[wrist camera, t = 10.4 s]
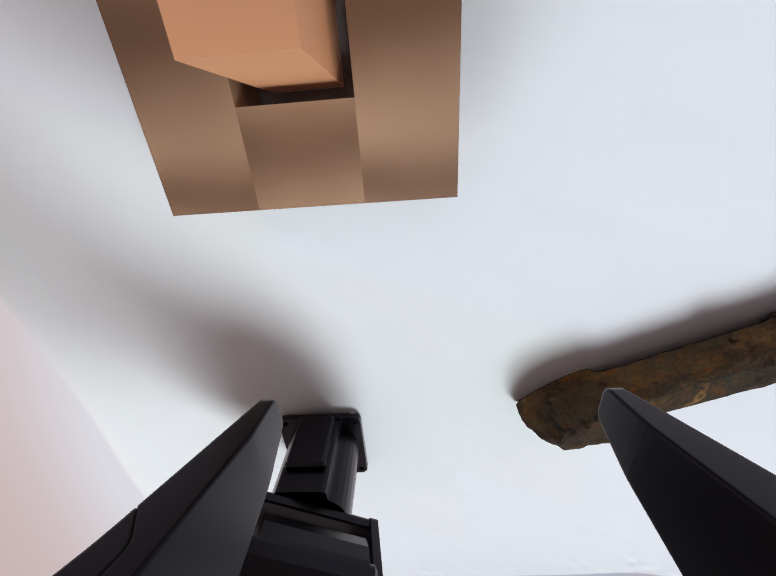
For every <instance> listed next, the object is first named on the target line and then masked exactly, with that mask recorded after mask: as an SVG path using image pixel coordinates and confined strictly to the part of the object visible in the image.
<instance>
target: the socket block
mask: <svg viewBox="0 0 776 576" xmlns="http://www.w3.org/2000/svg"><path fill="white" fill-rule="evenodd" d="M96 2H97V4H98V7H99V10H100V13H101V15H102V18H103V21H104V24H105V27H106V29H107V32H108V35H109V38H110V41H111V43H112V46H113V49H114V52H115V54H116V57H117V60H118V63H119V66H120V68H121V71H122V74H123V77H124V79H125V82H126V85H127V88H128V91H129V93H130V96H131V99H132V102H133V104H134V107H135V110H136V113H137V116H138V118H139V121H140V124H141V127H142V130H143V132H144V135H145V138H146V141H147V143H148V146H149V149H150V152H151V155H152V157H153V160H154V163H155V166H156V168H157V171H158V174H159V177H160V180H161V182H162V185H163V188H164V191H165V194H166V196H167V199H168V202H169V205H170V207H171V210H172V213H173V216H178V215H193V214H208V213H223V212H238V211H253V210H267V209H282V208H297V207H312V206H327V205H342V204H357V203H372V202H387V201H402V200H417V199H432V198H447V197H457V185H458V140H459V94H460V49H461V3H462V0H345V7H346V17H347V27H348V37H349V47H350V57H351V67H352V77H353V87H354V97H353V98H341V99H329V100H317V101H306V102H294V103H282V104H270V105H260V102H259V97H258V93H257V88H256V87H254V86H251V85H248V84H245V83H242V82H239V81H236V80H233V79H230V78H227V77H224V76H221V75H218V74H215V73H211V72H208V71H205V70H202V69H199V68H196V67H193V66H190V65H187V64H184V63H181V62H178V61H175V60H174V56H173V53H172V50H171V46H170V43H169V40H168V36H167V33H166V29H165V26H164V23H163V19H162V16H161V13H160V9H159V6H158V3H157V0H96Z"/></svg>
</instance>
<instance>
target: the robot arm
mask: <svg viewBox="0 0 776 576" xmlns="http://www.w3.org/2000/svg"><path fill="white" fill-rule="evenodd" d="M598 417H599V420H600V422H601V424H602V427H603V429H604V431H605V433H606V435H607V438H608V440H609V442H610V444H611V446H612V448H613V451H614V453H615V455H616V457H617V459H618V461H619V464H620V466H621V468H622V470H623V472H624V474H625V476H626V478H627V480H628V482H629V483H630V485H631V487H632V489H633V491H634V492H635V494H636V496H637V497H638V499H639V501H640V503H641V504H642V506H643V508H644V510H645V511H646V513H647V515H648V516H649V518H650V520H651V522H652V523H653V525H654V527H655V529H656V530H657V532H658V534H659V535H660V537H661V539H662V541H663V542H664V544H665V546H666V548H667V549H668V551H669V553H670V554H671V556H672V558H673V560H674V561H675V563H676V565H677V567H678V568H679V570H680V572H681V573H682V575H683V576H776V475H775V474H773V473H771V472H769V471H768V470H766V469H764V468H762V467H761V466H759V465H757V464H755V463H754V462H752V461H750V460H748V459H746V458H745V457H743V456H741V455H739V454H738V453H736V452H734V451H732V450H731V449H729V448H727V447H725V446H724V445H722V444H720V443H718V442H717V441H715V440H713V439H711V438H710V437H708V436H706V435H704V434H703V433H701V432H699V431H697V430H696V429H694V428H692V427H690V426H689V425H687V424H685V423H683V422H682V421H680V420H678V419H676V418H675V417H673V416H671V415H669V414H668V413H666V412H664V411H662V410H661V409H659V408H657V407H655V406H654V405H652V404H650V403H648V402H647V401H645V400H643V399H641V398H640V397H638V396H636V395H634V394H632V393H631V392H629V391H627V390H625V389H623V388H607V389H605V390H604V392H603V395H602V398H601V402H600V405H599V409H598ZM281 432H282V435H283V438H284V442H285V445H286V448H287V452H286V455H285V458H284V461H283V464H282V466H281V469H280V472H279V475H278V478H277V481H276V484H275V486H274V489H273V492H272V493H271V492H267V490H268V487H269V484H270V480H271V476H272V472H273V467H274V463H275V459H276V454H277V450H278V445H279V441H280V437H281ZM367 465H368V463H367V456H366V449H365V442H364V436H363V429H362V422H361V417H360V416H359V415H358V414H324V415H291V416H283V417H281V413H280V410H279V406H278V403H277V401H276V400H274V399H268V400H261V401H259V402H258V403H257V404H255V405H254V406H253V407H252V408H251V409H250V410H248V411H247V412H246V413H245V414H244V415H243V416H241V417H240V418H239V419H238V420H237V421H236V422H235V423H233V424H232V425H231V426H230V427H229V428H228V429H226V430H225V431H224V432H223V433H222V434H221V435H219V436H218V437H217V438H216V439H215V440H214V441H212V442H211V443H210V444H209V445H208V446H207V447H205V448H204V449H203V450H202V451H201V452H200V453H199V454H197V455H196V456H195V457H194V458H193V459H192V460H190V461H189V462H188V463H187V464H186V465H185V466H183V467H182V468H181V469H180V470H179V471H178V472H176V473H175V474H174V475H173V476H172V477H171V478H169V479H168V480H167V481H166V482H165V483H164V484H162V485H161V486H160V487H159V488H158V489H157V490H156V491H154V492H153V493H152V494H151V495H150V496H149V497H147V498H146V499H145V500H144V501H143V502H142V503H140V504H139V505H138V507H137V508H135V509H134V510H132V511H131V512H130V513H129V514H128V515H126V516H125V517H124V518H123V519H122V520H121V521H119V522H118V523H117V524H116V525H115V526H114V527H112V528H111V529H110V530H109V531H107V532H106V533H105V534H104V535H103V536H102V537H100V538H99V539H98V540H97V541H96V542H95V543H93V544H92V545H91V546H89V547H88V548H87V549H86V550H84V551H83V552H82V553H81V554H79V555H78V556H77V557H76V558H74V559H73V560H72V561H71V562H69V563H68V564H67V565H66V566H64V567H63V568H62V569H60V570H59V571H58V572H57V573H55V574H54V575H53V576H383V572H382V561H381V550H380V539H379V528H378V520H376V519H373V518H369V519H367V518H363V517H359V516H356V515H352V506H353V498H354V490H355V481H356V473H357V472H365V471H366V470H367Z"/></svg>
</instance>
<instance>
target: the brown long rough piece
mask: <svg viewBox="0 0 776 576" xmlns="http://www.w3.org/2000/svg"><path fill="white" fill-rule="evenodd" d="M769 317H770V318H769V319H768V320H767V321H764V322H762V323H758V324H756V325H752V326H749V327H746V328H743V329H740V330H736V331H733V332H730V333H727V334H724V335H721V336H718V337H715V338H711V339H708V340H705V341H701V342H698V343H695V344H694V343H688V344H686V345H684V346H683V347H681V348H678V349H676V350H672V351H669V352H664V353H660V354H658V355H656V356H653V357H650V358H647V359H643V360H640V361H636V362H633V363H630V364H627V365H624V366H621V367H617V368H614V369H610V370H607V371H596V372H595V371H593V370H591V369H583V370H580V371H577V372H575V373H572V374H569V375H567V376H565V377H562V378H560V379H558V380H556V381H554V382H552V383H549V384H548V385H546V386H544V387H542V388H540V389H538V390H536V391H535V392H533V393H531V394H530V395H528V396H527V397H525V398H523V399H522V400H520V401H519V402H518V403H517V404H516V406H517V409H518V412H519V414H520V416H521V419H522V421H523V422H524V423H525V424H526V426H527V427H528V428H529V429H531V430H533V431H534V432H535V433H536V434H537V435H538V436H539V437H540V438H541V439H543V440H545V441H547V442H549V443H551V444H553V445H557V446H559V447H560V448H562V449H563V450H571V449H580V448H583V447H585V446H587V445H597V444H601V443H610V442H609V440H608V438H607V435H606V433H605V431H604V429H603V427H602V424H601V422H600V420H599V417H598V409H599V405H600V402H601V398H602V395H603V392H604V390H605V389H607V388H623V389H625V390H627V391H629V392H631V393H632V394H634V395H636V396H638V397H640V398H641V399H643V400H645V401H647V402H648V403H650V404H652V405H654V406H655V407H657V408H659V409H661V410H662V411H664V412H669V411H672V410H677V409H681V408H684V407H688V406H692V405H696V404H700V403H703V402H706V401H710V400H714V399H718V398H722V397H725V396H726V397H727V396H729V395H732V394H735V393H739V392H743V391H747V390H751V389H756V388H762V387H765V386H768V385H771V384H774V383H776V312H771V314H770V315H769Z"/></svg>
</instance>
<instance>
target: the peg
mask: <svg viewBox="0 0 776 576" xmlns="http://www.w3.org/2000/svg"><path fill="white" fill-rule="evenodd" d="M157 3H158V6H159V9H160V13H161V16H162V19H163V23H164V26H165V29H166V33H167V36H168V40H169V43H170V46H171V50H172V53H173V56H174V60H175V61H178V62H181V63H184V64H187V65H190V66H193V67H196V68H199V69H202V70H205V71H208V72H211V73H215V74H218V75H221V76H224V77H227V78H230V79H233V80H236V81H239V82H242V83H245V84H248V85H251V86H254V87H257V88H260V89H263V90H266V91H269V92H272V93H281V92H292V91H303V90H314V89H325V88H337V87H344V78H343V69H342V60H341V51H340V42H339V33H338V25H337V16H336V7H335V0H157Z"/></svg>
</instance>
